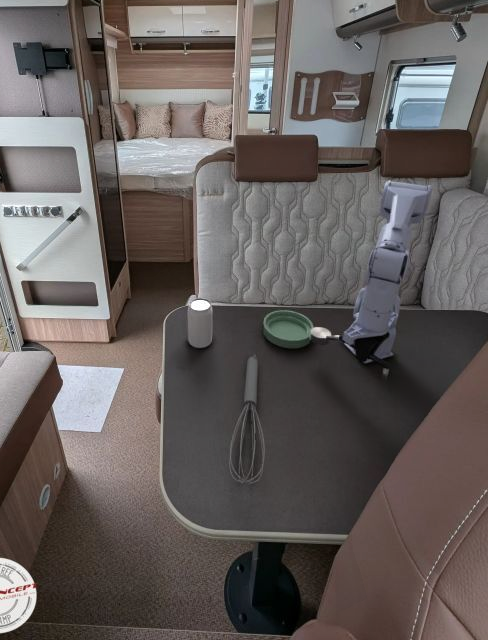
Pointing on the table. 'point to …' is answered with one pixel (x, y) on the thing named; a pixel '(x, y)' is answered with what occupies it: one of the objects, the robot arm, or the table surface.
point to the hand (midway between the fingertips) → (363, 357)
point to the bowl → (287, 329)
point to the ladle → (324, 337)
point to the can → (200, 323)
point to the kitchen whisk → (249, 404)
